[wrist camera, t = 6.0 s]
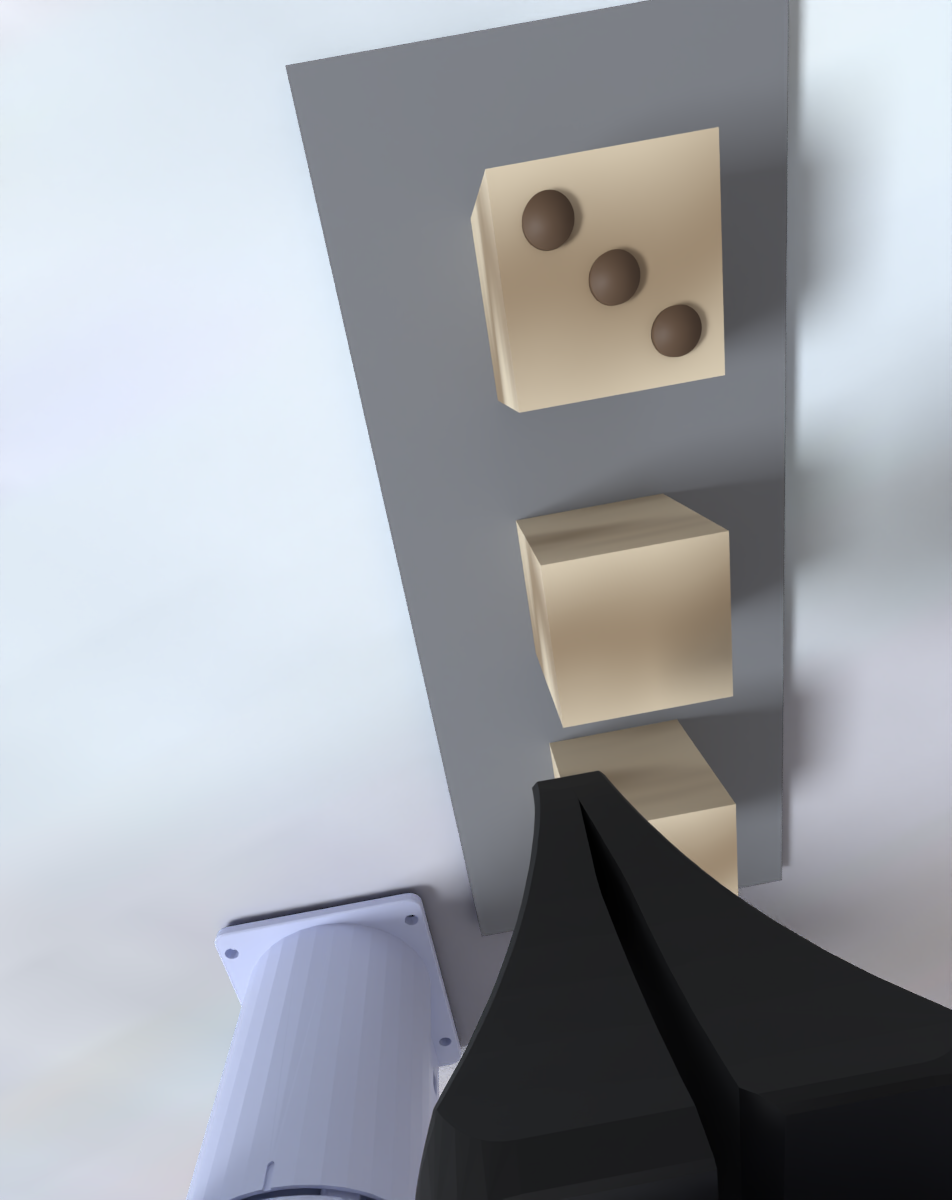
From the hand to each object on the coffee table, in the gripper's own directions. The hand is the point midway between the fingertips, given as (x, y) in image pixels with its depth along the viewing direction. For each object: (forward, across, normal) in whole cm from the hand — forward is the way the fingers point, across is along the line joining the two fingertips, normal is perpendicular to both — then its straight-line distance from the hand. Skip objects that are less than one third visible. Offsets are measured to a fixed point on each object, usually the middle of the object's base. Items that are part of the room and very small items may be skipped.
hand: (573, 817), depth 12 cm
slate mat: (+9, -3, -2) cm, 10 cm away
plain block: (+9, -3, -2) cm, 9 cm away
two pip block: (+9, -3, +6) cm, 11 cm away
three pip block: (+9, -3, -10) cm, 13 cm away
